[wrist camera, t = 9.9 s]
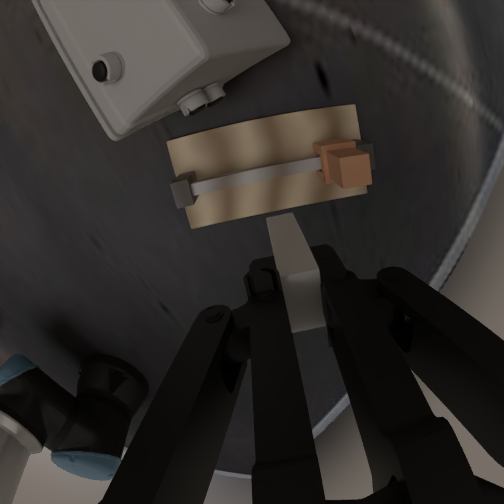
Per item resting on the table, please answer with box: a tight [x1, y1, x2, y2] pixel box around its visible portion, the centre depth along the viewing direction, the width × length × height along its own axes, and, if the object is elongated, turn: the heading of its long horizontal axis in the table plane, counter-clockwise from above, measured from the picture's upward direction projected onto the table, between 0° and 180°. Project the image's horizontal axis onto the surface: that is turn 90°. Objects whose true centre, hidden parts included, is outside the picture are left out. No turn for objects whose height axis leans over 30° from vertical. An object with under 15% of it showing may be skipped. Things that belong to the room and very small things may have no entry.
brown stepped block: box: [312, 138, 372, 189], centre depth 31 cm, size 4×4×9 cm
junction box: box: [32, 0, 290, 141], centre depth 22 cm, size 24×15×22 cm
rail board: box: [167, 105, 376, 229], centre depth 36 cm, size 24×12×6 cm, turn 102°
